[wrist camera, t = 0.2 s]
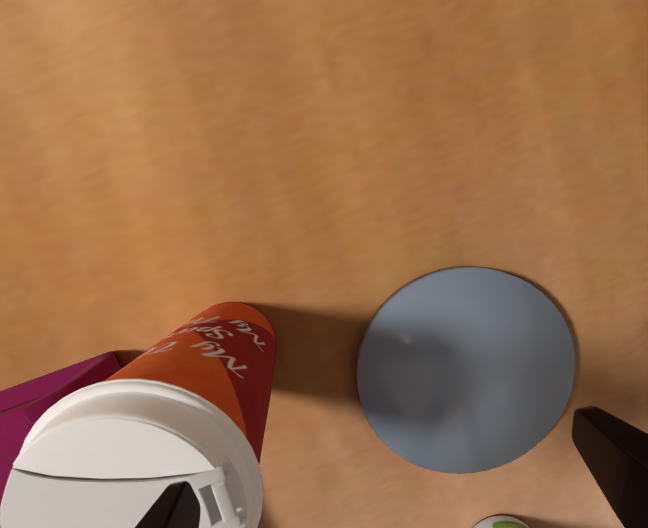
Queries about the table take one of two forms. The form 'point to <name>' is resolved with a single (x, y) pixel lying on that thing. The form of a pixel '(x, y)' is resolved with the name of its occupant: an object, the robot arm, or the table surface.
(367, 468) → the table surface
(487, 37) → the table surface
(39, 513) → the paper cup
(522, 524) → the supplement bottle
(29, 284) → the table surface
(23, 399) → the book
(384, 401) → the slate dish
